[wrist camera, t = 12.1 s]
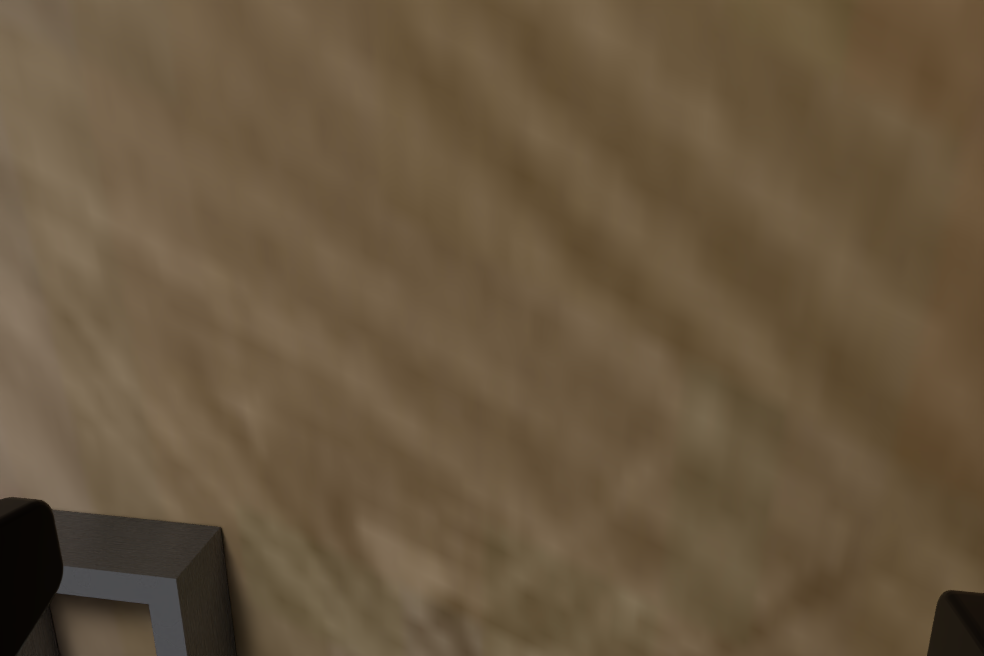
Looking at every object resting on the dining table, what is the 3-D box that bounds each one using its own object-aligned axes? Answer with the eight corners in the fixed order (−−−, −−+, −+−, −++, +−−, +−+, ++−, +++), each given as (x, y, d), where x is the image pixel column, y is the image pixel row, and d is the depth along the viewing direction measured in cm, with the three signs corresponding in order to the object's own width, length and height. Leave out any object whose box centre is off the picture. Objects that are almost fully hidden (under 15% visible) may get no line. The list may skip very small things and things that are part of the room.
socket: (220, 527, 26) (176, 578, 23) (244, 722, 28) (206, 787, 26) (2, 504, 27) (-61, 551, 25) (42, 693, 29) (-12, 752, 27)
